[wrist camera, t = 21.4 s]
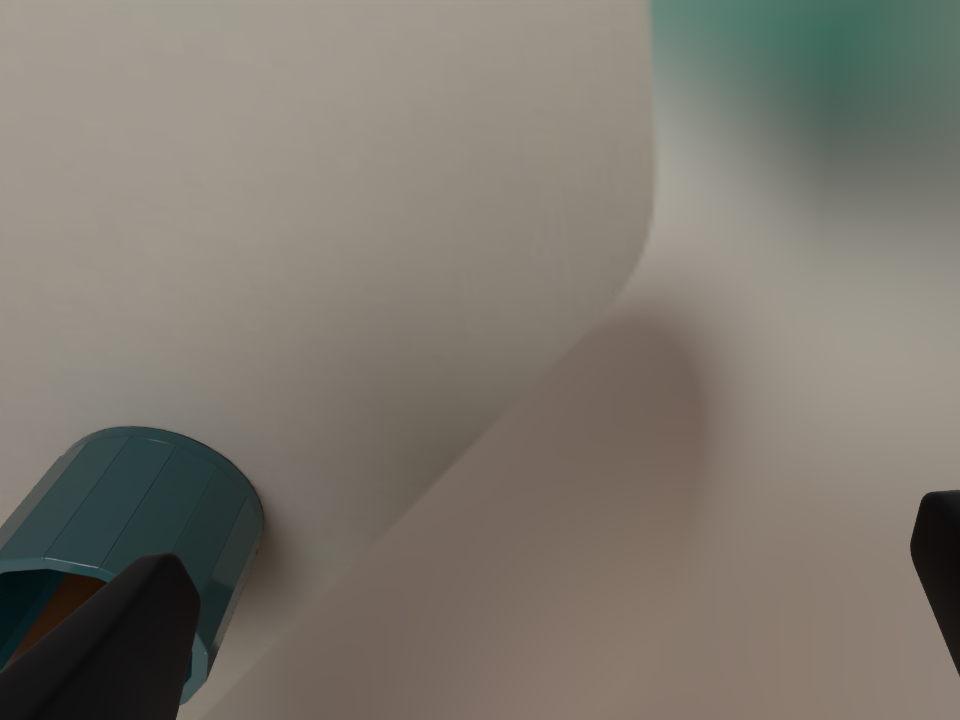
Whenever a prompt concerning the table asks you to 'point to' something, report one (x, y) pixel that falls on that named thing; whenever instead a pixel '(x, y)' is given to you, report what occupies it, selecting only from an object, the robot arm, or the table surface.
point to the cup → (132, 530)
